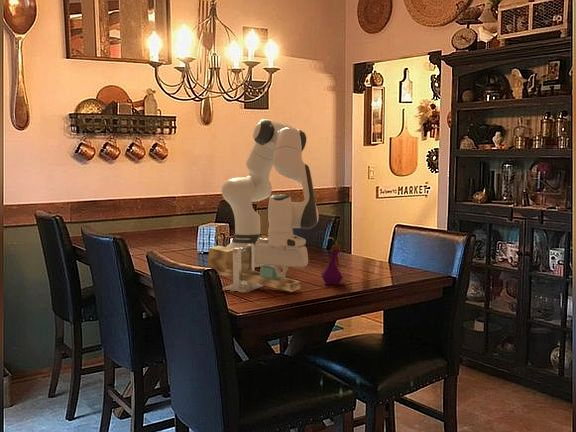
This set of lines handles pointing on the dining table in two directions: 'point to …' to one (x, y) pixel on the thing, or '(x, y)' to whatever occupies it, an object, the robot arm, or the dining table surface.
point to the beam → (245, 269)
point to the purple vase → (332, 268)
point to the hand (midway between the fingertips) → (281, 277)
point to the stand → (237, 275)
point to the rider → (268, 272)
